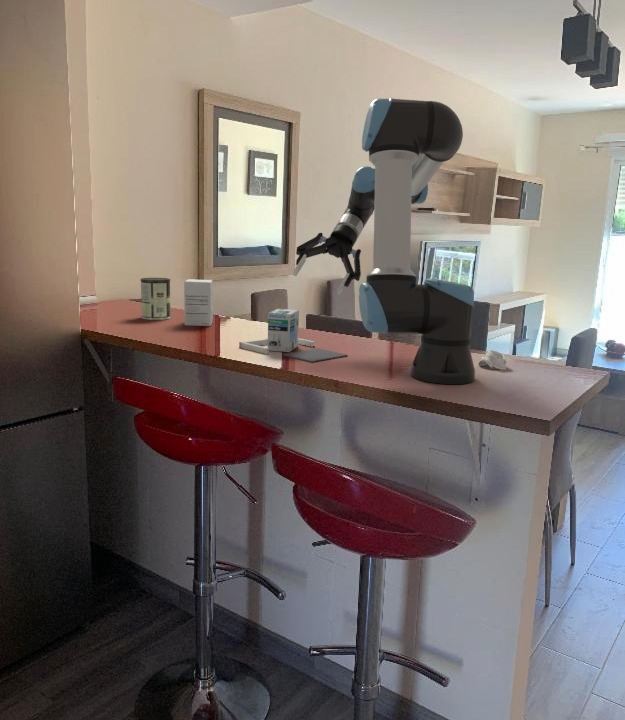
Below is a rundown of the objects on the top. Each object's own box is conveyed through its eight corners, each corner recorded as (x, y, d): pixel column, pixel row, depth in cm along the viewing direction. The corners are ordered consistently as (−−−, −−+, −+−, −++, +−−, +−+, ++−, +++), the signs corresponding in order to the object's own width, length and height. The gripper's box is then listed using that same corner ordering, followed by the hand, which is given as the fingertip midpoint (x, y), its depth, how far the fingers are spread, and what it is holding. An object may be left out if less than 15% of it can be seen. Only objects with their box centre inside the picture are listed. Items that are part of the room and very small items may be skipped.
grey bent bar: (314, 346, 187) (314, 341, 187) (266, 354, 174) (266, 348, 174) (287, 340, 195) (287, 335, 195) (239, 347, 182) (239, 342, 181)
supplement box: (187, 321, 225) (187, 278, 222) (213, 322, 225) (213, 279, 222) (183, 325, 216) (183, 281, 213) (210, 326, 216) (210, 282, 213)
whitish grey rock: (489, 366, 174) (490, 349, 174) (512, 369, 170) (513, 350, 169) (474, 368, 168) (475, 350, 168) (498, 370, 164) (499, 351, 163)
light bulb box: (289, 352, 177) (291, 314, 175) (266, 351, 179) (267, 312, 176) (298, 346, 188) (299, 309, 185) (276, 344, 189) (277, 308, 187)
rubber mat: (347, 356, 175) (347, 354, 175) (311, 362, 166) (311, 361, 165) (318, 349, 183) (318, 348, 183) (282, 355, 173) (282, 354, 173)
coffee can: (156, 315, 237) (155, 276, 234) (176, 318, 232) (176, 279, 229) (134, 317, 228) (134, 278, 225) (155, 321, 223) (155, 280, 220)
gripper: (382, 257, 193) (354, 307, 183) (307, 225, 197) (276, 273, 186) (387, 240, 187) (359, 292, 176) (310, 208, 190) (278, 256, 180)
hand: (316, 282), depth 181 cm, fingers open, 13 cm apart
